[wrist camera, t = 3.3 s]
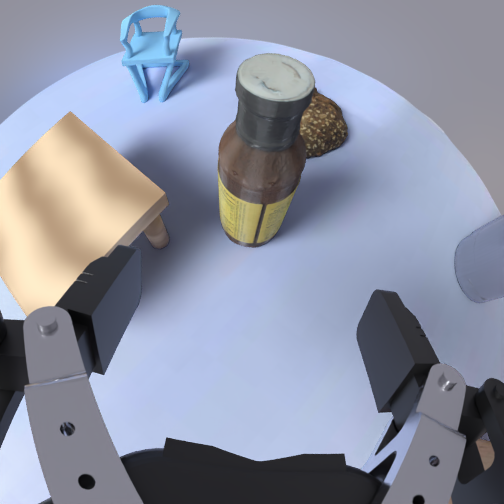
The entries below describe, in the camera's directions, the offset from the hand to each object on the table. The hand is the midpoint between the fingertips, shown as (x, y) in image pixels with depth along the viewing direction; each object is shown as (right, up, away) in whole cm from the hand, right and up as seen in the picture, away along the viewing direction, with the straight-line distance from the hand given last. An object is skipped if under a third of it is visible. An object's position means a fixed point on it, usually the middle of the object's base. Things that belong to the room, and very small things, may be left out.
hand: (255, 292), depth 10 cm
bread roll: (+6, +18, +28) cm, 34 cm away
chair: (-13, +25, +27) cm, 39 cm away
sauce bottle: (-1, +5, +23) cm, 23 cm away
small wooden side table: (-17, +2, +20) cm, 26 cm away
